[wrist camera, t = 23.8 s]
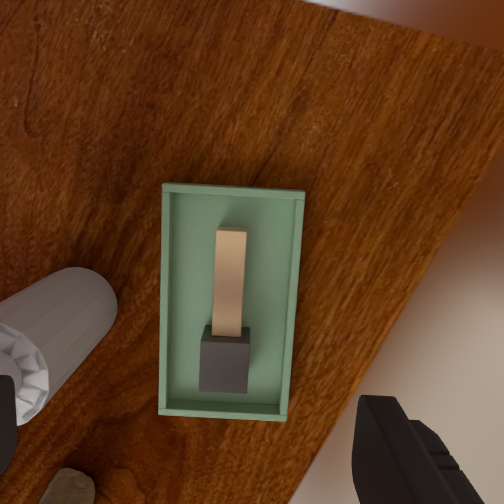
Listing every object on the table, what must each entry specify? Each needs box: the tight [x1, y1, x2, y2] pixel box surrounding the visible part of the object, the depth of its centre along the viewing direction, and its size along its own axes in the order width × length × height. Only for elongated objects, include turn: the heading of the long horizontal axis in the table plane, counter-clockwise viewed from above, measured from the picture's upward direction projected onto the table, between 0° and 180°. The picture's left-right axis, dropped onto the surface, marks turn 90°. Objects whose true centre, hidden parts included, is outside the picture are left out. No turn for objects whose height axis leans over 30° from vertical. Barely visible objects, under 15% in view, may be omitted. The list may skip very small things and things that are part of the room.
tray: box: [159, 182, 305, 422], centre depth 34 cm, size 18×10×2 cm, turn 177°
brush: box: [199, 226, 250, 394], centre depth 32 cm, size 12×4×3 cm, turn 177°
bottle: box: [0, 267, 117, 426], centre depth 27 cm, size 6×6×16 cm
